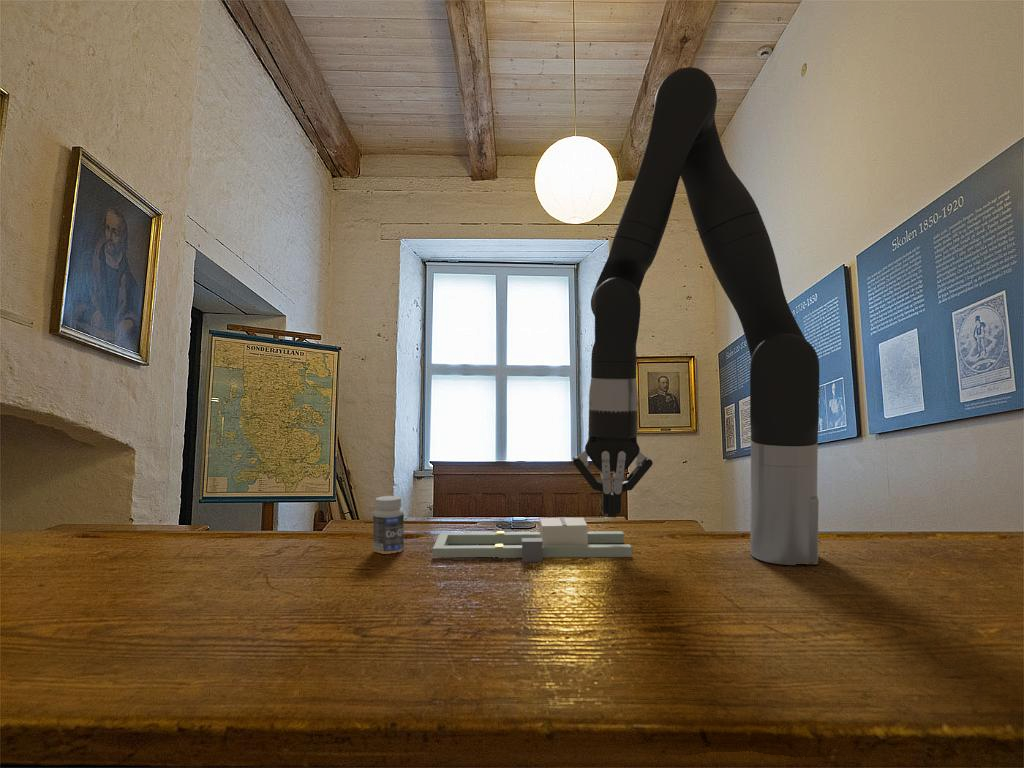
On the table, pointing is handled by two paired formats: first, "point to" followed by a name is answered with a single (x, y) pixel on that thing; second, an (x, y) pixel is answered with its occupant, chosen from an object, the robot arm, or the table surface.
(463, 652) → the table surface
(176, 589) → the table surface
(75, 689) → the table surface
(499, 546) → the balance mark
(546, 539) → the block
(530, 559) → the slotted beam
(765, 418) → the robot arm
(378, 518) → the pill bottle
